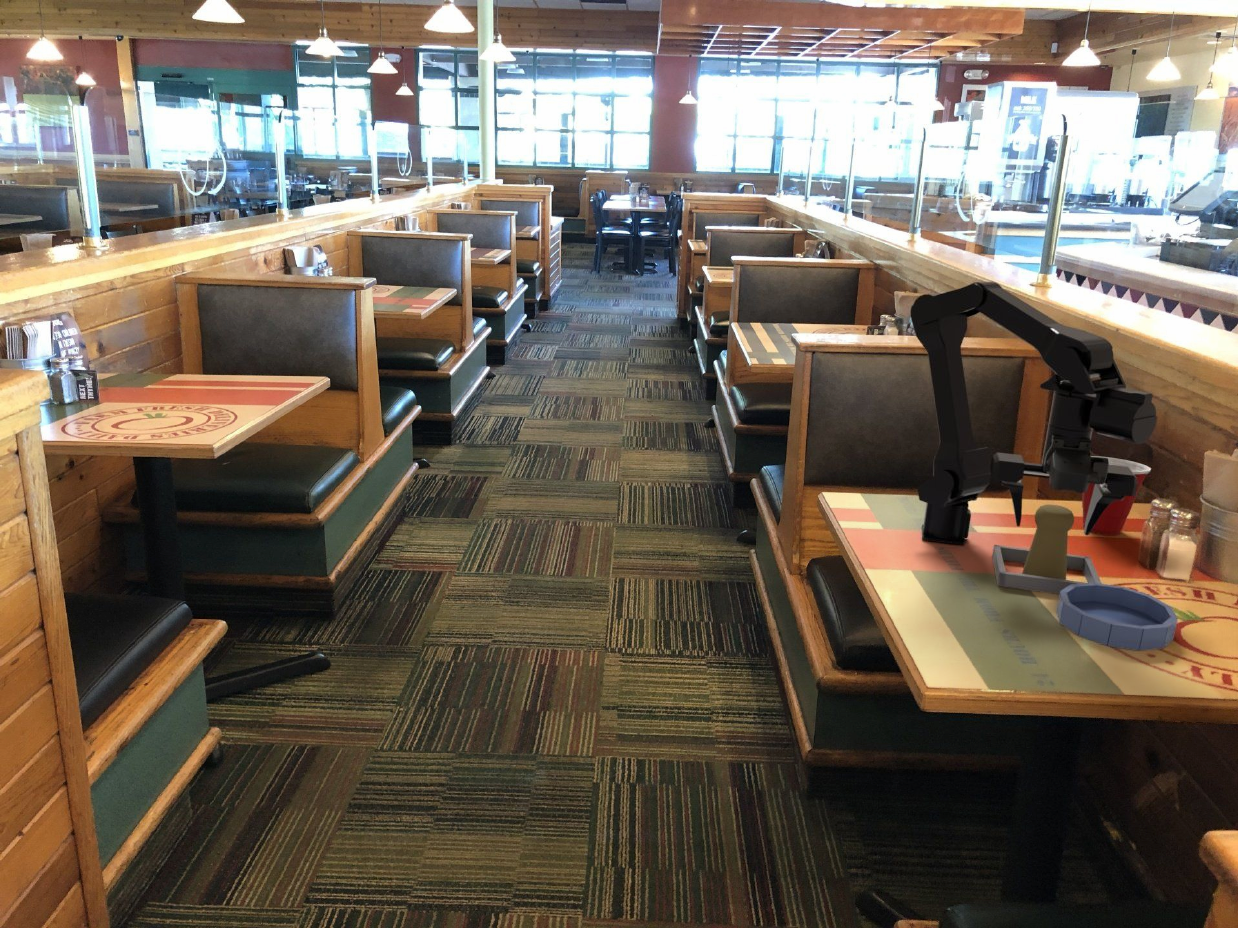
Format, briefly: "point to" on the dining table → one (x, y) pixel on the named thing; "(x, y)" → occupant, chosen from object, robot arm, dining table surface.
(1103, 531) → the plastic cup
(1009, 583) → the open gray frame
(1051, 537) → the olive game pawn
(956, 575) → the dining table surface
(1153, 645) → the bowl
